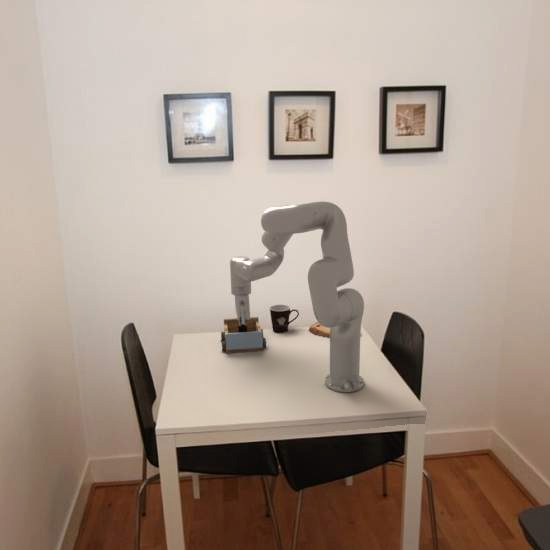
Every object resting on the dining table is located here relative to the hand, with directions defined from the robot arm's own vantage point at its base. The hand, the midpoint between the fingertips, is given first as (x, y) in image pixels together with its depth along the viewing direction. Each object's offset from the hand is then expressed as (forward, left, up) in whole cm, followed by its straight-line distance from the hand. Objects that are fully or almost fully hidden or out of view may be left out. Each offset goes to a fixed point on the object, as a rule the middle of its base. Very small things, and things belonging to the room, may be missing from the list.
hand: (242, 334), depth 182 cm
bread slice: (+8, -38, -6) cm, 40 cm away
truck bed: (+3, 0, -5) cm, 6 cm away
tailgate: (-6, 0, -3) cm, 7 cm away
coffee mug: (+14, -18, -5) cm, 23 cm away
